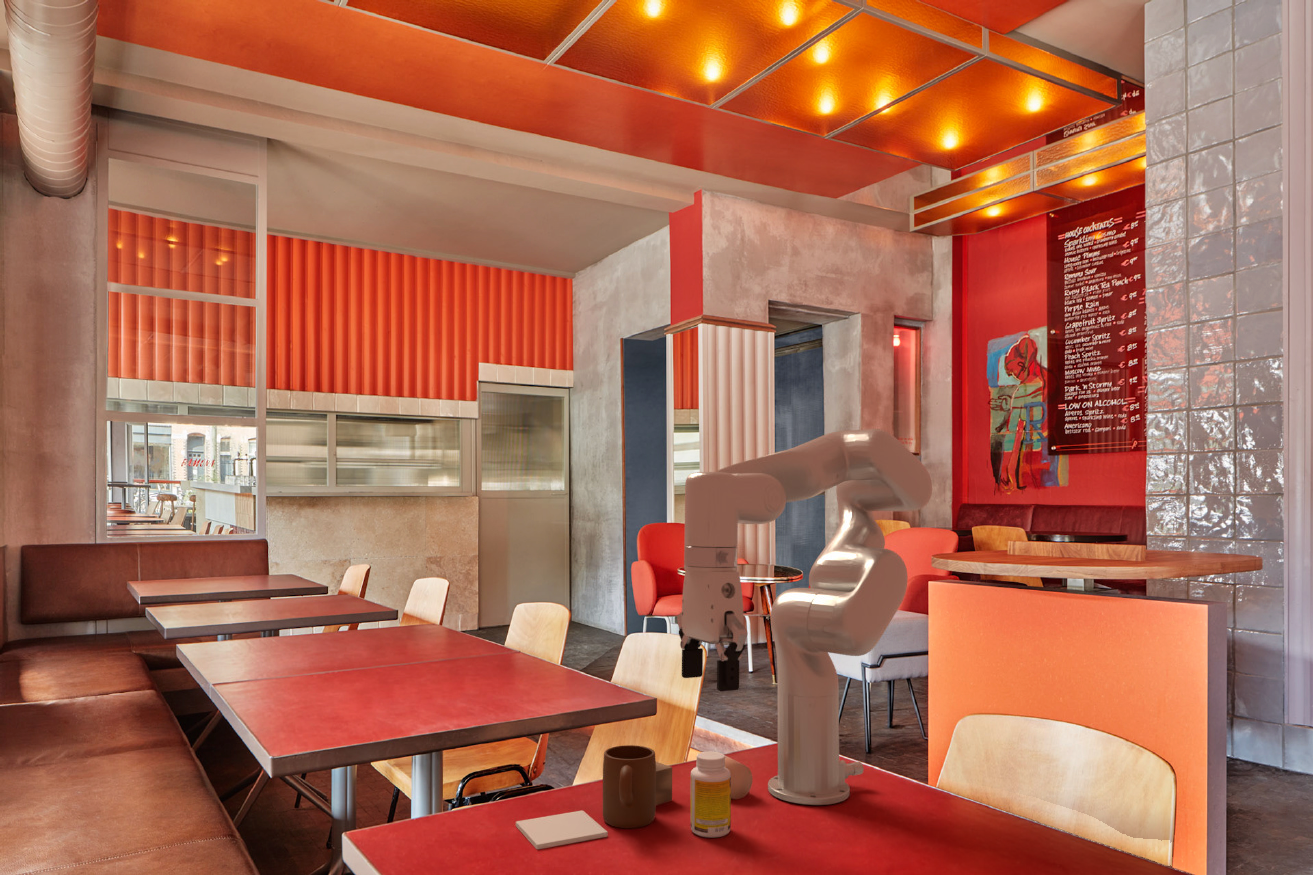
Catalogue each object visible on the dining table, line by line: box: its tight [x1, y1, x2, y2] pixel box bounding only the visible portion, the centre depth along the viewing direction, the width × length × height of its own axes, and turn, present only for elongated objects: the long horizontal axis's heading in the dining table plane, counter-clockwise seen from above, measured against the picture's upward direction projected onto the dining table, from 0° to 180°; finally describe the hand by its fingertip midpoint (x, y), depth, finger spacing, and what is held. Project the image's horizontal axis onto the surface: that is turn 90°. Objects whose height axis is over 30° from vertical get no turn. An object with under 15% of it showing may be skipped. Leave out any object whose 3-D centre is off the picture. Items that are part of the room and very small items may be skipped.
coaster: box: [515, 810, 608, 850], centre depth 116 cm, size 10×9×1 cm
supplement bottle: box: [689, 751, 732, 839], centre depth 117 cm, size 6×6×10 cm
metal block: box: [656, 761, 673, 806], centre depth 129 cm, size 5×5×5 cm
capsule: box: [724, 754, 753, 800], centre depth 133 cm, size 5×7×5 cm
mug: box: [602, 744, 657, 829], centre depth 119 cm, size 12×8×9 cm, turn 178°
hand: (709, 683), depth 118 cm, fingers open, 9 cm apart
